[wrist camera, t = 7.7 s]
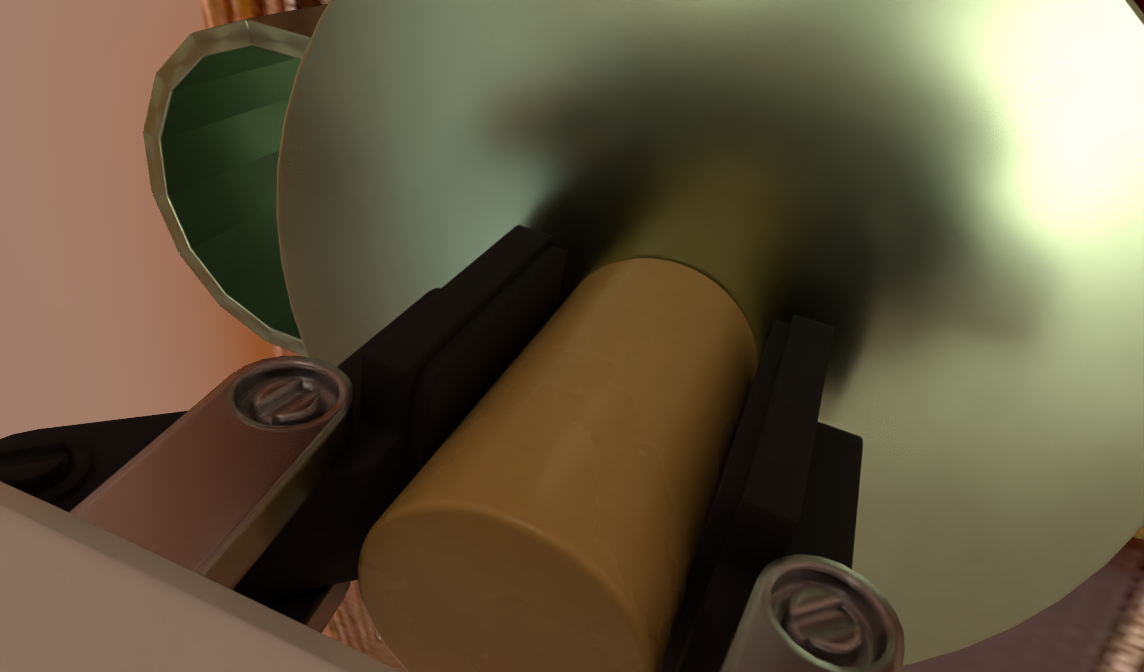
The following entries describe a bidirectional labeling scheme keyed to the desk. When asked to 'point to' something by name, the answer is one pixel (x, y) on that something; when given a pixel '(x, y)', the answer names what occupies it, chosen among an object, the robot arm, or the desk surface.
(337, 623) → the desk surface
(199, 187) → the tin
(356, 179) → the lid
